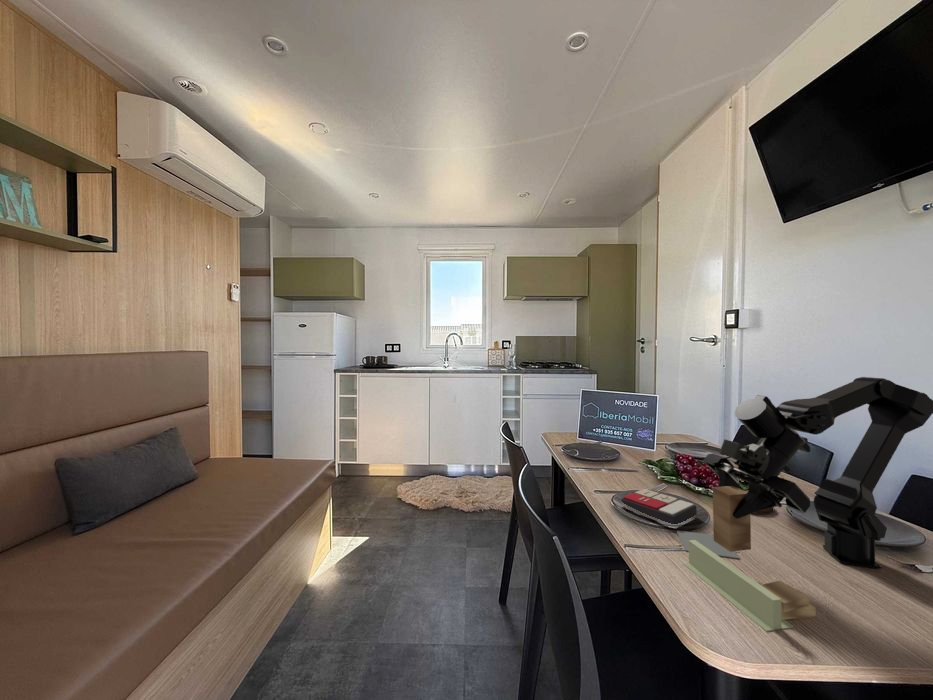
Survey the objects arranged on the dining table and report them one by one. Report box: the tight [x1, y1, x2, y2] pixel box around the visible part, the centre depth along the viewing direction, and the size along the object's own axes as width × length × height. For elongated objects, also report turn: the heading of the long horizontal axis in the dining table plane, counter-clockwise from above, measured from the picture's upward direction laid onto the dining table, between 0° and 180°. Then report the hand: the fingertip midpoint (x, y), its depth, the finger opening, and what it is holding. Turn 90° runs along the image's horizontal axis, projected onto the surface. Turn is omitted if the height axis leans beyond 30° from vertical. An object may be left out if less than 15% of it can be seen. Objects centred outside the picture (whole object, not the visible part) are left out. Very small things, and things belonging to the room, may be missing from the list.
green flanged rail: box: [683, 540, 794, 632], centre depth 67 cm, size 5×18×5 cm, turn 8°
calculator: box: [620, 488, 698, 524], centre depth 99 cm, size 11×4×15 cm
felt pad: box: [676, 529, 741, 560], centre depth 83 cm, size 10×9×1 cm
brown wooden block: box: [712, 486, 752, 552], centre depth 72 cm, size 4×4×11 cm
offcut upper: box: [760, 580, 810, 612], centre depth 62 cm, size 6×4×2 cm
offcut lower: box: [781, 603, 817, 621], centre depth 63 cm, size 7×5×2 cm
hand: (725, 511), depth 72 cm, fingers closed on brown wooden block, 4 cm apart
